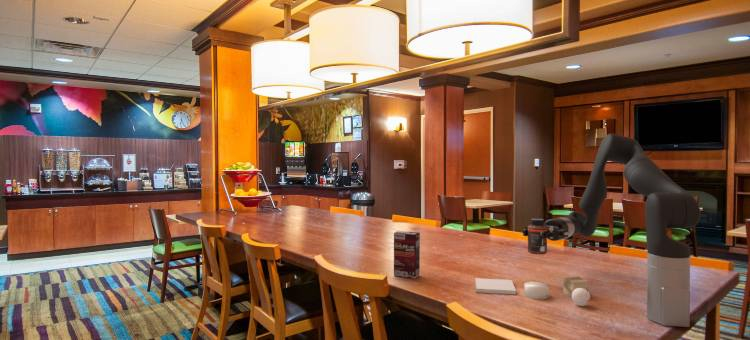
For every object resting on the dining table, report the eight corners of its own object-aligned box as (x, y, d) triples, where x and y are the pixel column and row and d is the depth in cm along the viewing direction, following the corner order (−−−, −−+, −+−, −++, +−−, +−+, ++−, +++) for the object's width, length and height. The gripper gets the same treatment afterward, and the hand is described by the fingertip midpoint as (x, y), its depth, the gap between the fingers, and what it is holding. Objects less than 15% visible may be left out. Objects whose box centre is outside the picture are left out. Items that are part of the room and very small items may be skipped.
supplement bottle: (548, 255, 139) (548, 220, 139) (529, 254, 141) (529, 220, 140) (545, 251, 145) (545, 218, 145) (526, 250, 146) (526, 217, 146)
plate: (516, 294, 134) (516, 290, 134) (476, 292, 136) (476, 288, 136) (511, 283, 146) (511, 280, 146) (475, 281, 148) (475, 278, 148)
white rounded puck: (550, 300, 129) (550, 288, 129) (526, 299, 130) (526, 287, 130) (546, 293, 136) (546, 282, 136) (522, 292, 137) (522, 281, 137)
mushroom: (584, 309, 120) (584, 291, 120) (568, 305, 124) (568, 287, 124) (593, 306, 123) (593, 288, 123) (577, 301, 127) (577, 284, 127)
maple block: (588, 297, 131) (588, 281, 131) (573, 298, 131) (573, 281, 131) (577, 292, 136) (578, 276, 136) (563, 293, 136) (563, 277, 135)
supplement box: (393, 276, 156) (393, 232, 155) (398, 273, 160) (398, 230, 160) (415, 279, 152) (415, 234, 151) (420, 275, 156) (420, 232, 156)
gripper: (539, 216, 157) (513, 220, 147) (579, 220, 146) (554, 225, 136) (539, 236, 158) (513, 242, 147) (579, 242, 146) (554, 249, 136)
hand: (533, 234), depth 141 cm, fingers closed on supplement bottle, 6 cm apart
